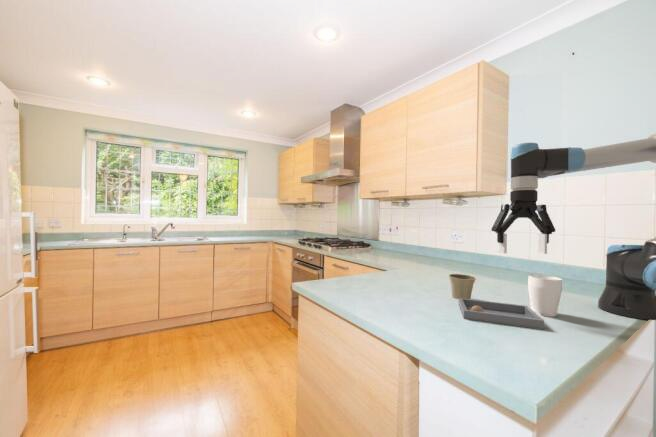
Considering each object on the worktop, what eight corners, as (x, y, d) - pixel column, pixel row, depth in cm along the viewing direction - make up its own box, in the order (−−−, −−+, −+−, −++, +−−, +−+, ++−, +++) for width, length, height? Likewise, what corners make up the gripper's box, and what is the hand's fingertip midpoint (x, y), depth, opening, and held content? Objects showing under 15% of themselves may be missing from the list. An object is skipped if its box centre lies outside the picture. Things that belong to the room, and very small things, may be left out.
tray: (526, 315, 90) (526, 305, 90) (543, 331, 77) (544, 320, 77) (458, 306, 97) (458, 297, 97) (463, 320, 84) (463, 310, 84)
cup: (548, 309, 97) (550, 275, 97) (568, 319, 88) (569, 281, 88) (520, 308, 98) (522, 273, 98) (537, 317, 89) (539, 279, 89)
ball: (482, 316, 86) (482, 304, 86) (484, 320, 83) (484, 308, 83) (469, 314, 88) (470, 303, 88) (471, 318, 84) (471, 306, 84)
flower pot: (480, 303, 102) (481, 279, 101) (454, 302, 102) (454, 278, 102) (467, 296, 111) (468, 274, 111) (443, 295, 111) (444, 273, 111)
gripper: (551, 191, 99) (550, 251, 99) (480, 190, 98) (480, 251, 98) (569, 189, 91) (568, 254, 91) (494, 188, 91) (492, 254, 91)
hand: (522, 253), depth 95 cm, fingers open, 13 cm apart
